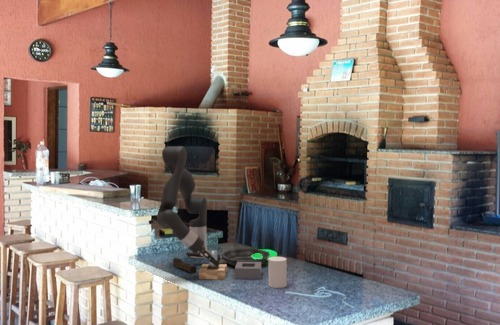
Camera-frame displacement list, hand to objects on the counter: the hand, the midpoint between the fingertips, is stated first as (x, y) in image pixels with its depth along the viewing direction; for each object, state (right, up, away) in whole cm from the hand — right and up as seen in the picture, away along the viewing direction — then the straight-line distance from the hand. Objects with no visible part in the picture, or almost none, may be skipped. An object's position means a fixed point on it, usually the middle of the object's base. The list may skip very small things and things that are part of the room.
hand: (216, 263), depth 243 cm
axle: (-2, -6, 0) cm, 6 cm away
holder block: (+15, -5, 0) cm, 16 cm away
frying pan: (+7, -5, +21) cm, 23 cm away
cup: (+28, -7, -16) cm, 33 cm away
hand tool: (-18, -6, +11) cm, 22 cm away
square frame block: (-2, -6, 0) cm, 6 cm away
